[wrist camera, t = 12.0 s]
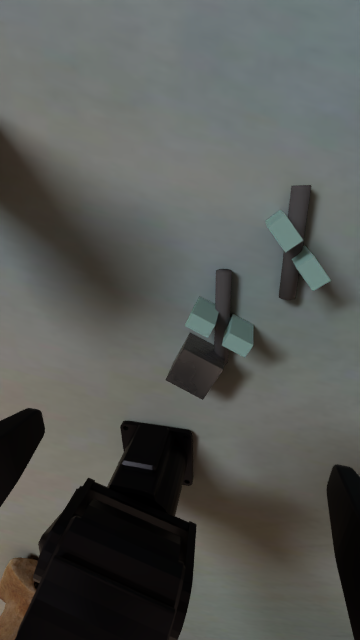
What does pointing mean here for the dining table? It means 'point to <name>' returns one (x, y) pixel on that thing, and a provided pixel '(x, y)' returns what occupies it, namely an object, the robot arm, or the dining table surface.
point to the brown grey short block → (196, 367)
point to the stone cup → (16, 594)
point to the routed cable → (288, 275)
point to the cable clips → (238, 329)
